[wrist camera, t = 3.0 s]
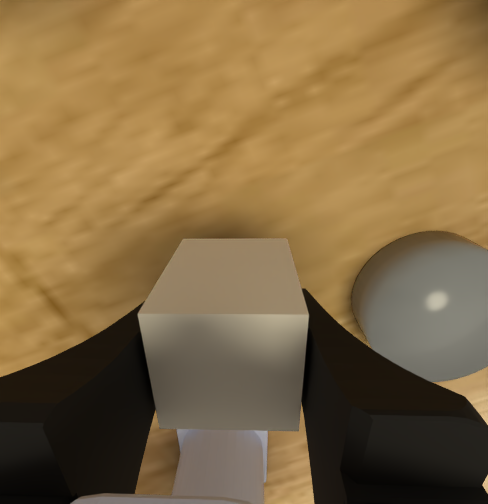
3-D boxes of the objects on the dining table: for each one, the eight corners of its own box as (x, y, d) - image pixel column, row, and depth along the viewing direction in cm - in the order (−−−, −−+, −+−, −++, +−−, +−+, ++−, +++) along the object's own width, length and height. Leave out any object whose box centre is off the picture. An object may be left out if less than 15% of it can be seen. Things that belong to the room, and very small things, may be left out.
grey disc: (471, 338, 22) (510, 376, 19) (348, 348, 22) (366, 387, 19) (502, 224, 18) (558, 246, 15) (354, 237, 19) (378, 262, 15)
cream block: (283, 323, 15) (298, 431, 9) (191, 323, 15) (159, 428, 10) (287, 238, 13) (308, 314, 8) (183, 238, 13) (137, 313, 8)
